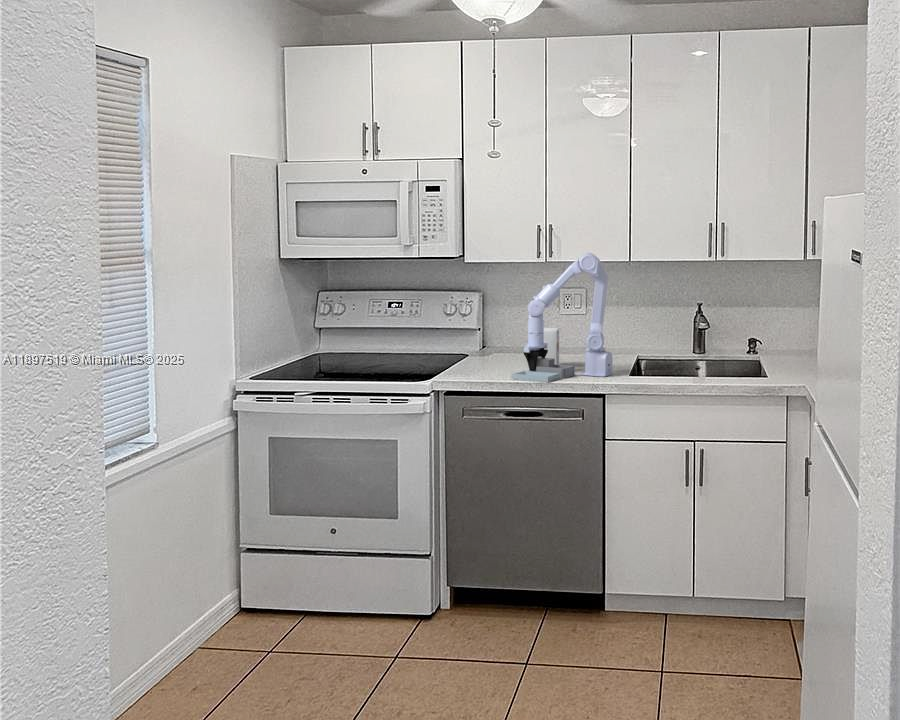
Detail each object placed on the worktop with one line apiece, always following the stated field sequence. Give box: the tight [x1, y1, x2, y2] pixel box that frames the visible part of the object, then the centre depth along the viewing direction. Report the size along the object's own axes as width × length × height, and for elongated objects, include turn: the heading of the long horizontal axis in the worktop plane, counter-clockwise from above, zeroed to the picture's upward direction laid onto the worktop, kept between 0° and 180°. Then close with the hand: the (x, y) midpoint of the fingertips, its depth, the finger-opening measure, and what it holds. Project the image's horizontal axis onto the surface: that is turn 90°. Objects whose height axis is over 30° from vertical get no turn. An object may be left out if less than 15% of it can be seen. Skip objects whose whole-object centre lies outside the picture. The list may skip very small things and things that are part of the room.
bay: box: [536, 364, 575, 379], centre depth 417 cm, size 11×8×4 cm
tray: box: [510, 370, 561, 383], centre depth 409 cm, size 15×9×2 cm, turn 57°
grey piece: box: [544, 327, 560, 365], centre depth 437 cm, size 9×9×15 cm
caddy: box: [528, 356, 555, 372], centre depth 419 cm, size 8×4×7 cm, turn 58°
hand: (535, 370), depth 421 cm, fingers closed on caddy, 4 cm apart
